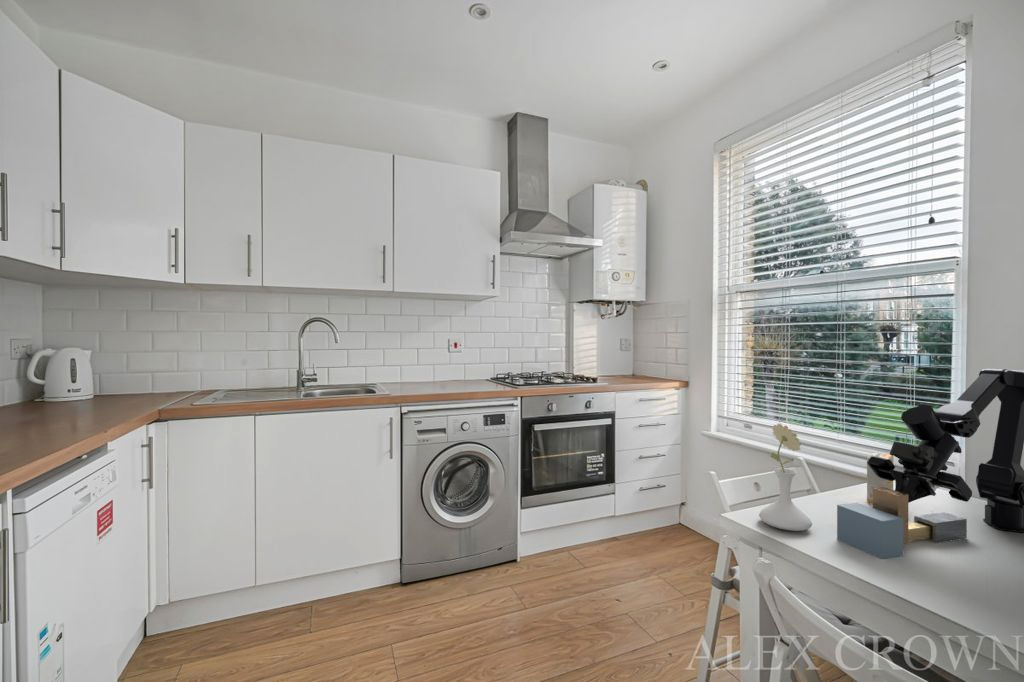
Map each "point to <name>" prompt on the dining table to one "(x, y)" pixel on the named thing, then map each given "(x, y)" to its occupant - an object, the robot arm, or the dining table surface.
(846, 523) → the blue-grey rectangular block
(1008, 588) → the dining table surface
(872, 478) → the supplement box
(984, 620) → the dining table surface
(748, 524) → the dining table surface
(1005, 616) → the dining table surface
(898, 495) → the upright wooden plank
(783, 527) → the flower in vase
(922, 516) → the outer sleeve
